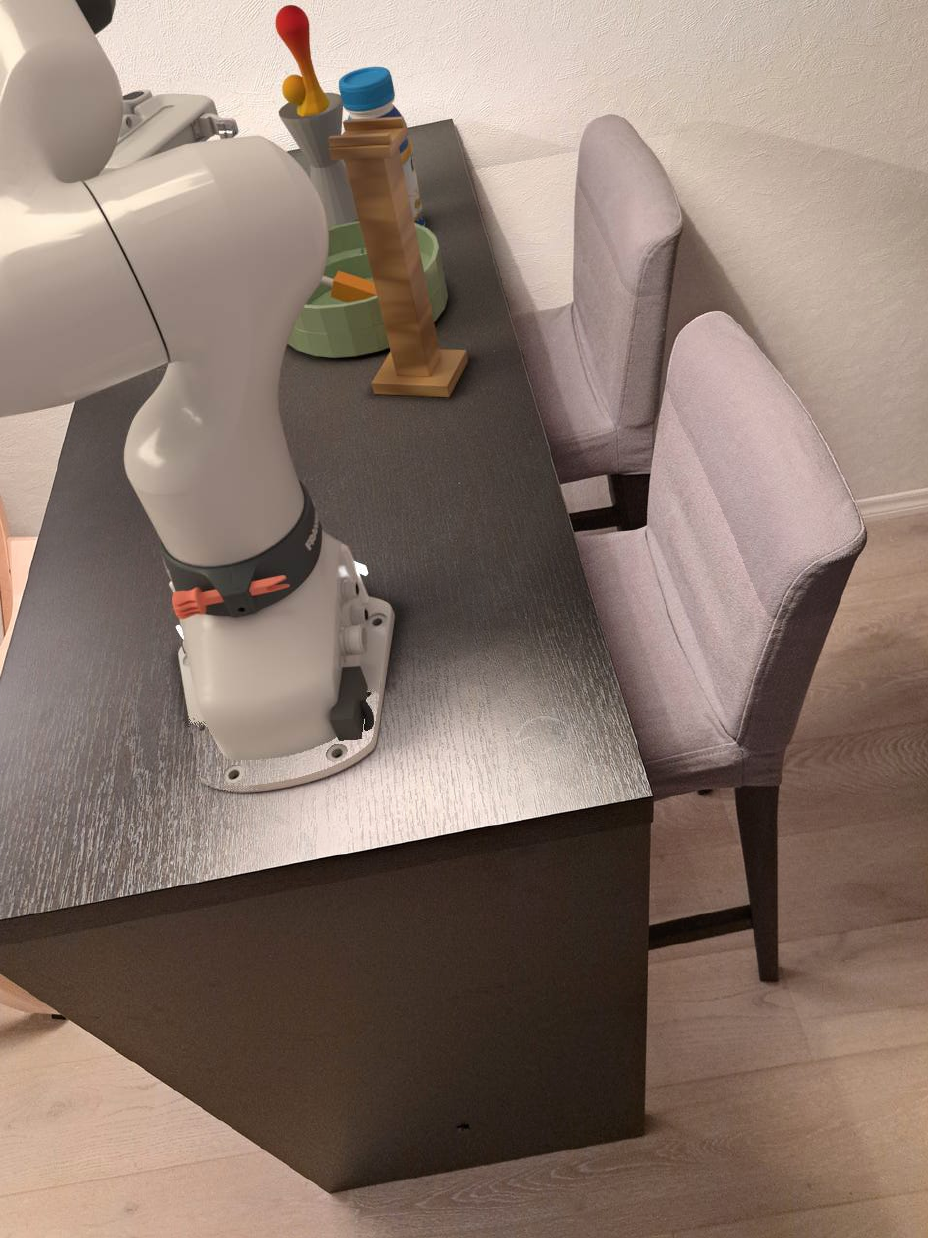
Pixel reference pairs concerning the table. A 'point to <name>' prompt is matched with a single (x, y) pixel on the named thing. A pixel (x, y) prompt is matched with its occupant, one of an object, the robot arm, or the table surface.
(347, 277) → the screwdriver
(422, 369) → the shelf stand
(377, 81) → the beverage bottle
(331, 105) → the lava lamp
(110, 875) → the table surface
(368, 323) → the green pet bowl
